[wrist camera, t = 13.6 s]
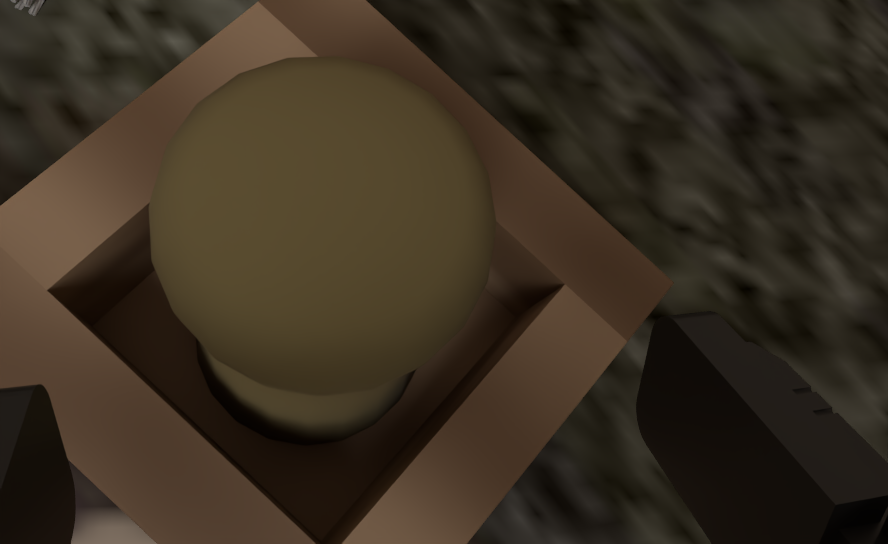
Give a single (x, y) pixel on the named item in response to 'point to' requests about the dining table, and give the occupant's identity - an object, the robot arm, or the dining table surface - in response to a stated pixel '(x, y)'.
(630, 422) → the dining table surface
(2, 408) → the robot arm
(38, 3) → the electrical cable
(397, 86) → the cork
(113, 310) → the wooden box
